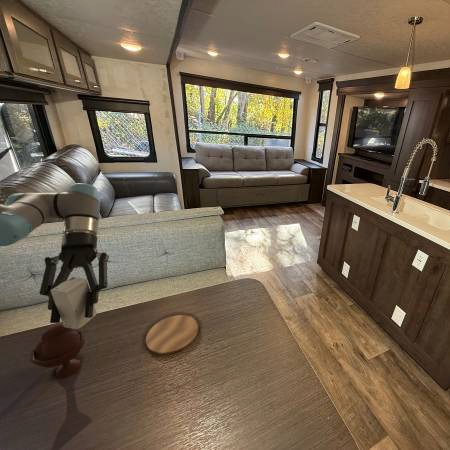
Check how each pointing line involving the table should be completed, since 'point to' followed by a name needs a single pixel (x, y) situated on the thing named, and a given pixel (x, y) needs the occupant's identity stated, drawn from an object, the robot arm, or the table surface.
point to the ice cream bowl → (59, 349)
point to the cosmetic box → (72, 302)
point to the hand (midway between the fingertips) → (72, 319)
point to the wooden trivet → (172, 334)
